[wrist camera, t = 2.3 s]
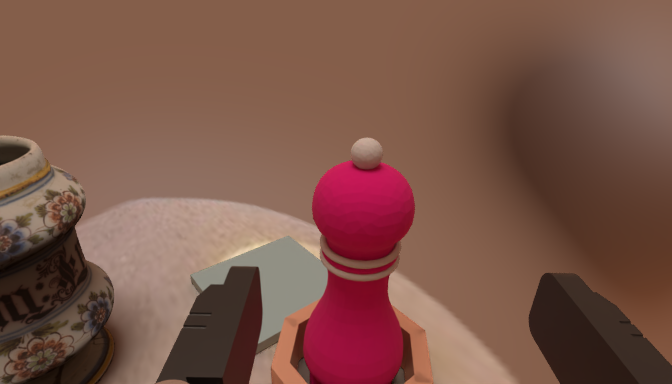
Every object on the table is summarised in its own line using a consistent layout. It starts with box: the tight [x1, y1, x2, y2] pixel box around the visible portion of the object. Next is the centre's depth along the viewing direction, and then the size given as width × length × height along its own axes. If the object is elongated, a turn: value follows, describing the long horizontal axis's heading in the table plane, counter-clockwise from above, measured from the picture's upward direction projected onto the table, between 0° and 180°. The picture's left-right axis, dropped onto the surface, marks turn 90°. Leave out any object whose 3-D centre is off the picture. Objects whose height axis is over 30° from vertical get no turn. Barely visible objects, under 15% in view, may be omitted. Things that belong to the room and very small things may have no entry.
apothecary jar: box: [0, 136, 114, 384], centre depth 26 cm, size 12×12×18 cm
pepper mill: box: [303, 138, 415, 384], centre depth 25 cm, size 7×7×20 cm
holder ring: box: [271, 298, 433, 384], centre depth 29 cm, size 11×11×4 cm
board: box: [190, 236, 328, 354], centre depth 39 cm, size 12×12×1 cm
